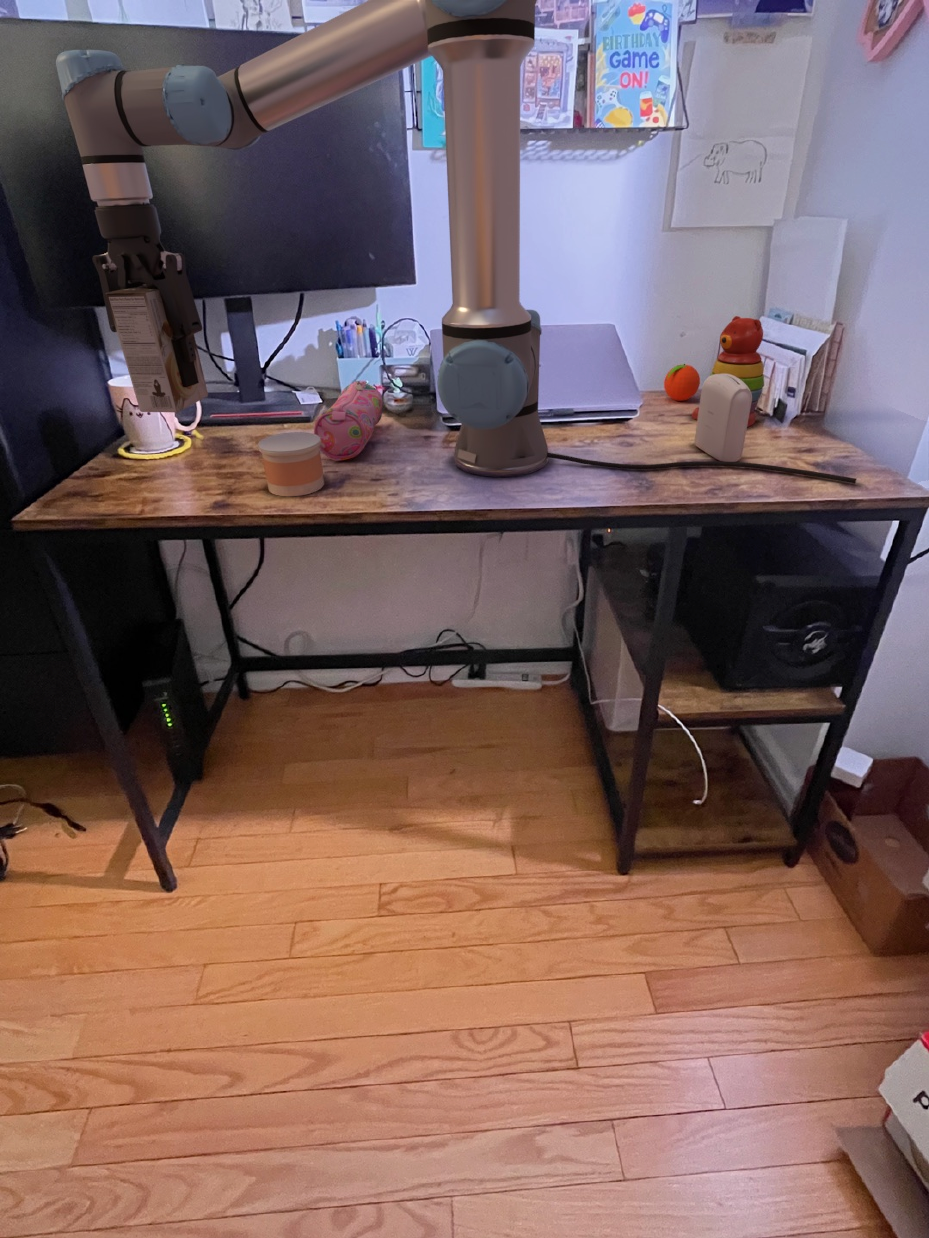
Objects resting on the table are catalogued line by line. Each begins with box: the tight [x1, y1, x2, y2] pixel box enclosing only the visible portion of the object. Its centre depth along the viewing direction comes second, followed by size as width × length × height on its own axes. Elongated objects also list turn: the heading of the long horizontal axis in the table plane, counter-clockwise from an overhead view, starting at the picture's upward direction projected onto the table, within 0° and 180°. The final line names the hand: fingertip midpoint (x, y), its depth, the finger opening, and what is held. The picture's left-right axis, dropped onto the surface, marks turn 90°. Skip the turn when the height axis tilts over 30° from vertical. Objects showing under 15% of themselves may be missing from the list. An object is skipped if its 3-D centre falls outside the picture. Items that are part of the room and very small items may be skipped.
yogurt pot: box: [257, 431, 325, 497], centre depth 106 cm, size 9×9×7 cm
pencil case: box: [313, 380, 384, 461], centre depth 122 cm, size 21×9×9 cm, turn 176°
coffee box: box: [106, 283, 209, 413], centre depth 101 cm, size 9×6×16 cm
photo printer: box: [694, 374, 752, 462], centre depth 112 cm, size 10×4×12 cm, turn 11°
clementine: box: [663, 363, 701, 402], centre depth 141 cm, size 8×7×7 cm
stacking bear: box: [691, 315, 765, 428], centre depth 125 cm, size 11×10×18 cm
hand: (169, 383), depth 104 cm, fingers closed on coffee box, 7 cm apart
